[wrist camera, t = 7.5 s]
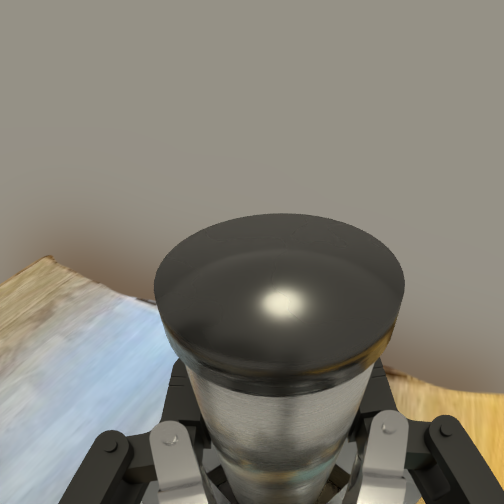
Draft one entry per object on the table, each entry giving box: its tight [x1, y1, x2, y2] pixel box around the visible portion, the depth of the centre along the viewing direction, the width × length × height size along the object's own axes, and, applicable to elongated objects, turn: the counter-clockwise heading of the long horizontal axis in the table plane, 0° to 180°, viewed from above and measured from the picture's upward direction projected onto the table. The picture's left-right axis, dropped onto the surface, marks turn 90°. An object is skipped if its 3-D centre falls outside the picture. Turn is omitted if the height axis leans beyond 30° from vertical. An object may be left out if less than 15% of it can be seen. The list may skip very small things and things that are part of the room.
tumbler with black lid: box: [154, 214, 405, 504], centre depth 11 cm, size 5×5×15 cm
